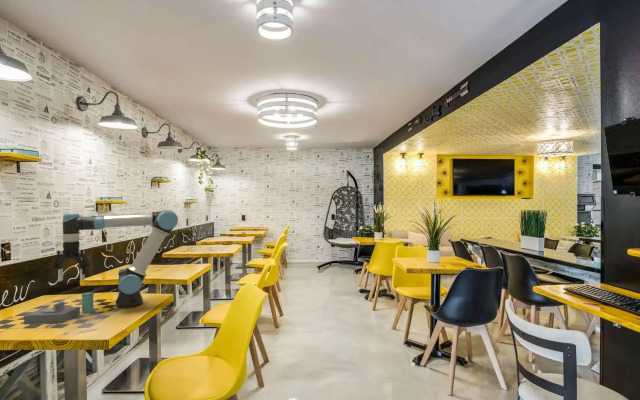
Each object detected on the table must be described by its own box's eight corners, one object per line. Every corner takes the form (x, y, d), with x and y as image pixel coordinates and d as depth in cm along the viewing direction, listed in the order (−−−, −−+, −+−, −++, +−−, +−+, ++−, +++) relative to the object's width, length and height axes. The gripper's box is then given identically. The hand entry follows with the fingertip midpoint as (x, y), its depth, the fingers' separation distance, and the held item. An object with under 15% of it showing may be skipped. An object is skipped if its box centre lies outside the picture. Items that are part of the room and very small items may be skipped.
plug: (93, 311, 204) (93, 292, 204) (89, 313, 200) (89, 294, 200) (86, 311, 204) (86, 292, 204) (81, 313, 200) (81, 294, 200)
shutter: (64, 308, 194) (64, 301, 194) (55, 312, 187) (55, 305, 187) (50, 308, 194) (50, 301, 194) (40, 312, 186) (40, 305, 187)
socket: (79, 314, 198) (79, 306, 198) (63, 322, 184) (63, 314, 184) (43, 315, 197) (43, 307, 197) (24, 324, 183) (24, 315, 183)
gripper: (97, 240, 196) (97, 278, 196) (54, 240, 195) (54, 279, 194) (88, 241, 188) (89, 281, 188) (44, 242, 187) (44, 282, 187)
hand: (71, 280), depth 191 cm, fingers open, 11 cm apart
